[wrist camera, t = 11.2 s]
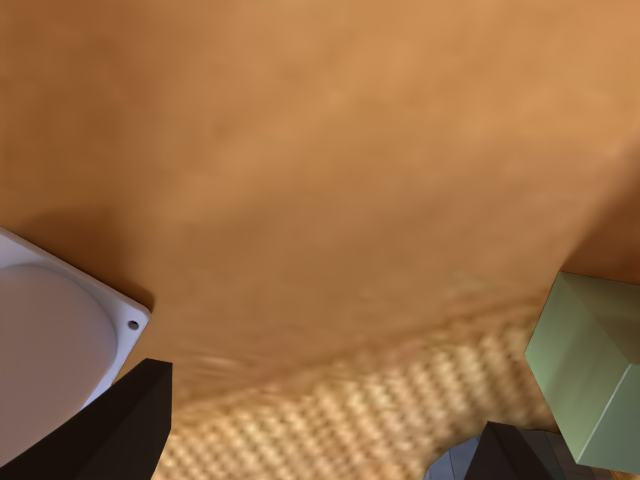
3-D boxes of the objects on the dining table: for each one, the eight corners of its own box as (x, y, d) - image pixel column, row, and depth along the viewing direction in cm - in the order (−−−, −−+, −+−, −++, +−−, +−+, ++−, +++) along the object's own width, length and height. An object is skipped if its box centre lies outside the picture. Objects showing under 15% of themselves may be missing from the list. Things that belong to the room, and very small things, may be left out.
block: (664, 289, 20) (776, 388, 15) (620, 372, 22) (704, 487, 16) (558, 270, 20) (630, 362, 15) (523, 354, 22) (575, 464, 17)
